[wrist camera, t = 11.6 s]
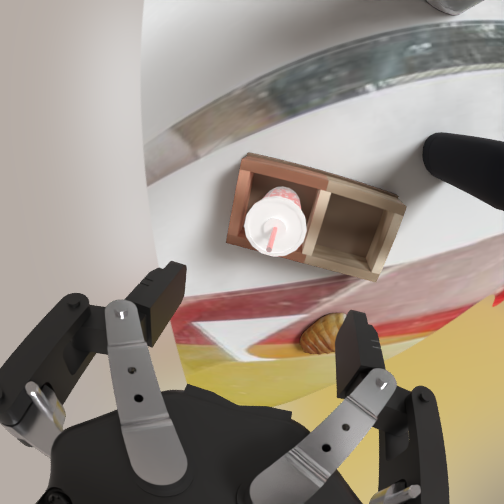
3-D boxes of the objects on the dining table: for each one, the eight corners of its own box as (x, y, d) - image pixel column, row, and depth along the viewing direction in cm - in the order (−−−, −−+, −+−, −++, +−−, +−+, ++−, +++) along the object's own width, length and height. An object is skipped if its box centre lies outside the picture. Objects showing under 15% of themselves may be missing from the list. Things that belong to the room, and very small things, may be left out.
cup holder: (248, 152, 34) (240, 156, 29) (396, 194, 33) (408, 204, 28) (233, 230, 39) (223, 244, 34) (369, 266, 37) (376, 284, 33)
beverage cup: (268, 232, 37) (248, 289, 25) (251, 189, 35) (220, 226, 22) (312, 219, 35) (316, 272, 23) (297, 174, 33) (292, 203, 21)
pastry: (312, 353, 46) (312, 369, 43) (291, 330, 45) (289, 345, 42) (359, 330, 43) (362, 346, 39) (339, 304, 41) (342, 319, 38)
